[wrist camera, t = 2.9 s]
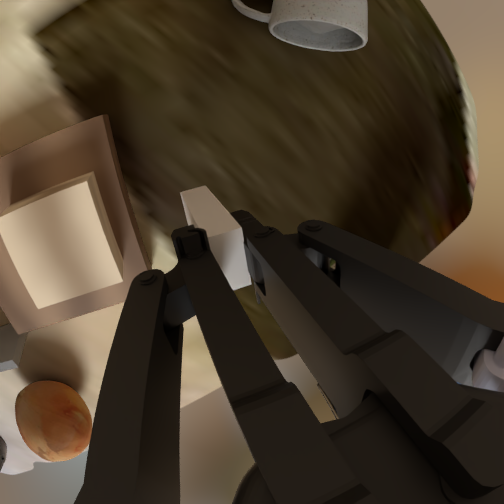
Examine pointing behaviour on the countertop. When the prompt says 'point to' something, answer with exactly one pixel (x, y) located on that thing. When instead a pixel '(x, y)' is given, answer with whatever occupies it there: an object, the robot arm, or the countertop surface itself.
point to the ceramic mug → (315, 22)
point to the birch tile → (62, 241)
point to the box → (10, 347)
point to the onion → (53, 420)
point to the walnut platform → (53, 173)
